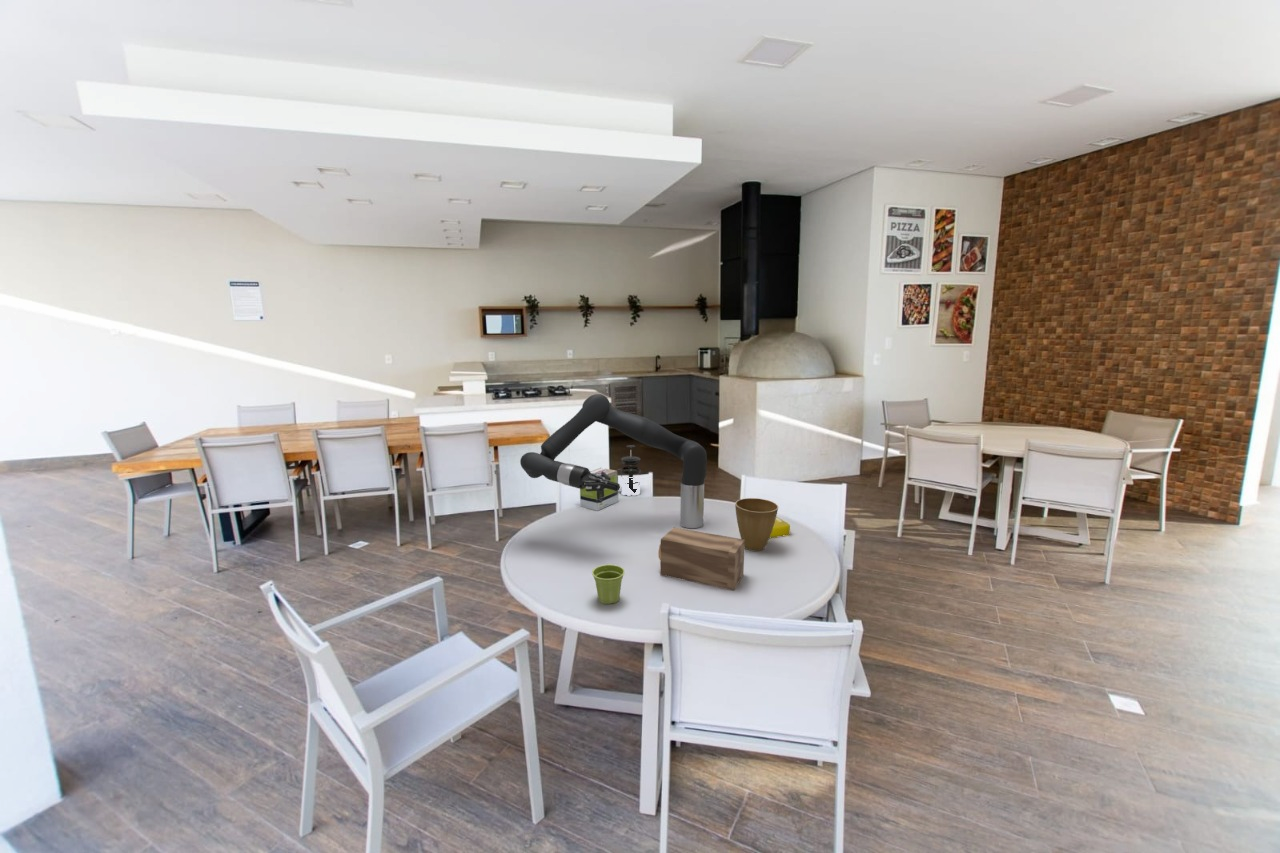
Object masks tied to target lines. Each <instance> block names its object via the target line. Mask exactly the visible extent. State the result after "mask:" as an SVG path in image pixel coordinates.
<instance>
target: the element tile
mask: <svg viewBox="0 0 1280 853" xmlns="http://www.w3.org/2000/svg"><path fill="white" fill-rule="evenodd" d="M790 525H791V524H789V523H788V522H786V521H785V520H783V519H781V518H780V517H778V516H776V519H775V523H774V526H773V529H772V532H771V535H770V537H775V538H778V537H777V536H782V537H784V536H783V535H788V534H789V533H790V534H791V526H790ZM790 534H789V535H790ZM789 535H788V536H789ZM770 537H769V539H771V538H770Z"/></svg>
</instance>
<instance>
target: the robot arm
mask: <svg viewBox="0 0 1280 853" xmlns="http://www.w3.org/2000/svg"><path fill="white" fill-rule="evenodd" d="M595 422H597V423H600V424H603V425H606V426H607V427H611V428H613V429H615V430H616V431H618V432H620V433H621V434H623V435H625V436H627V437H629V438H631V439H633V440H635V441H637V442H639V443H641V444H643V445H646V446H648V447H651V448H656V449H660V450H663V451H666V452H668V453H670V454H672V455H673V456H676V457H677V458H679V459H680V460H681V461H682V474H681V476H680V510H679V511H680V514H679V524H680V526H682V527H683V528H686V529H699V528H702V527H703V526H704V513H705V512H704V510H705V509H704V508H705V480H706V476H707V464H708V459H707V458H708V457H707V456H708V454H707V450H706V449H705V448H704V447H703V446H702V445H701V444H700V443H699V442H697V441H695V440H691V439H688V438H685V437H683V436H680V435H677V434H675V433H673V432H672V431H670V430H668V429H667V428H665V427H664V426H662V425H660V424H658V423H657V422H654V421H653V420H651V419H648V418H646V417H644V416H642V415H638V414H634V413H631V412H626V411H623V410H620V409H618V408H617V407H615V406H612V405H611V404H610V399H608V397H607V396H605V395H604V394H600V393H595V394H592V395H589V397H587V398H586V399H585V400H584V401H583V403H582V407H581V409H579V411H578V412H577V413H576V414H574V416H573V417H572V418H571V419H569V420H568V421H567V422H566V423H565V424H563V425H562V426H561V427H559V428H558V429H557V430H555V432H553V433H552V434H551V435H550V436H548V437H547V439H545V441H543V443H542V444H540V450H541V452H540V453H538V452H534V451H532V452H531V451H530V452H526V453H524V454H523V455H522V456H521V457H520V461H519V463H520V466H521V468H522V469H523V471H524V472H525V473H526V475H528V477H530V478H532V479H537V478H540V477H542V476H544V478H546V479H548V480H550V481H553V482H557V483H560V484H562V485H564V486H568V487H573V488H576V489H579V490H580V489H584V488H585V487H586V491H603V489H611V490H614V491H618V492H619V490H620V489H621V488H620V486H621V485H620V483H619V482H618V483H615V482H611V481H610V480H611V478H610V477H609V476H608V475H607V474H605V473H604V472H601V475H597V474H595V473H590V471H591V470H590V469H589V468H588V467H585V466H580V465H577V464H574V463H566V462H562V461H559V460H555V459H556V458H557V457H558V456H559V455H560V454H561V453H562V452H564V451H565V450H566V449H567V448H568V447H569V446H570V445H571V444H572V443H573V442H574V441H575V440H576V439H577V437H579V436H580V435H581V434H582V433H583V432H584V431H585V430H587V429H588V428H589V427H590V426H592V424H595Z"/></svg>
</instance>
